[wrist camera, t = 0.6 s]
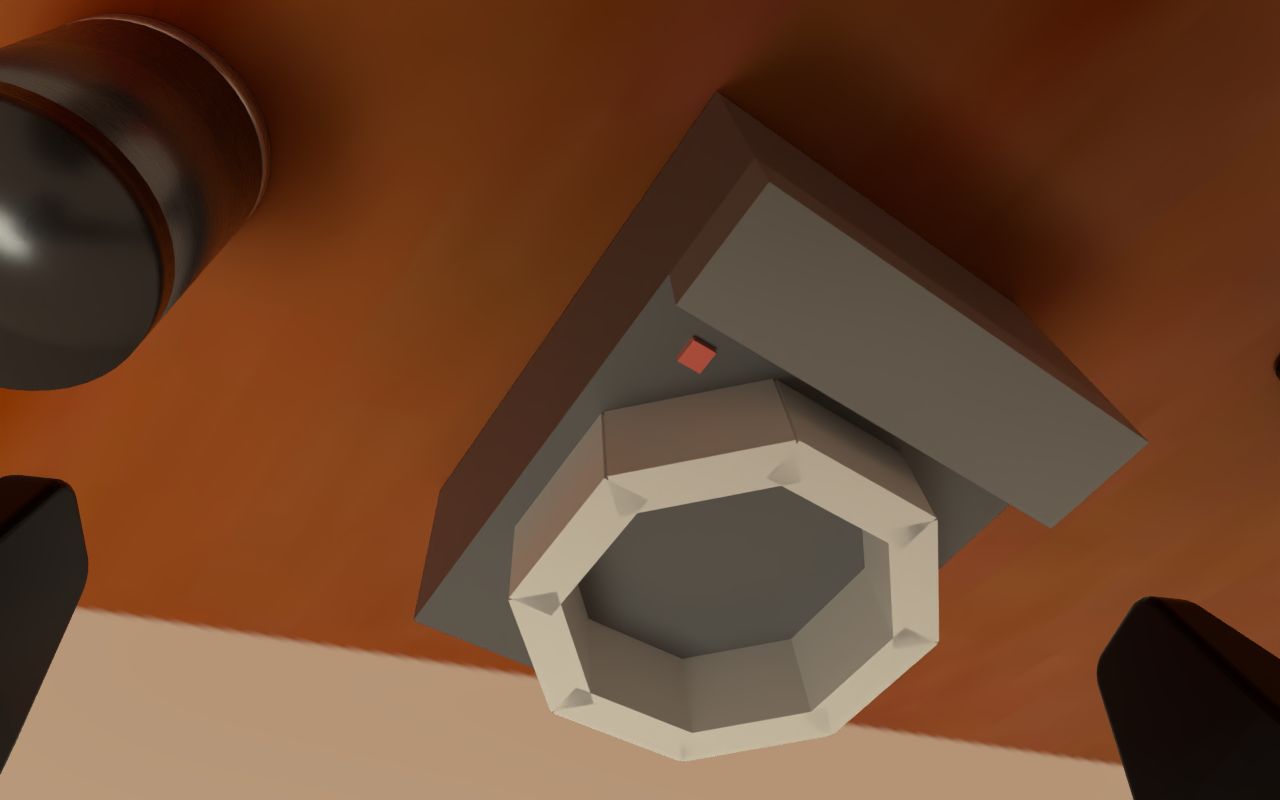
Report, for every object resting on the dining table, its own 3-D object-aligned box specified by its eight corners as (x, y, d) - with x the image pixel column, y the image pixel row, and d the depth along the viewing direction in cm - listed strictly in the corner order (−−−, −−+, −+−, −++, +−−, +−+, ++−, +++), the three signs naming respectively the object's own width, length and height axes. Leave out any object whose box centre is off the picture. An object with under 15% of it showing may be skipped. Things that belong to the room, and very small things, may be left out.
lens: (307, 103, 18) (200, 208, 13) (223, 281, 19) (99, 436, 14) (65, -40, 16) (-170, 15, 11) (-2, 169, 18) (-229, 298, 13)
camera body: (1017, 305, 21) (1174, 468, 16) (716, 617, 26) (755, 824, 20) (716, 90, 18) (779, 200, 12) (439, 491, 23) (398, 695, 17)
